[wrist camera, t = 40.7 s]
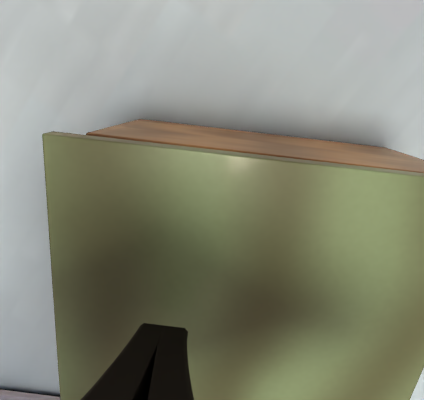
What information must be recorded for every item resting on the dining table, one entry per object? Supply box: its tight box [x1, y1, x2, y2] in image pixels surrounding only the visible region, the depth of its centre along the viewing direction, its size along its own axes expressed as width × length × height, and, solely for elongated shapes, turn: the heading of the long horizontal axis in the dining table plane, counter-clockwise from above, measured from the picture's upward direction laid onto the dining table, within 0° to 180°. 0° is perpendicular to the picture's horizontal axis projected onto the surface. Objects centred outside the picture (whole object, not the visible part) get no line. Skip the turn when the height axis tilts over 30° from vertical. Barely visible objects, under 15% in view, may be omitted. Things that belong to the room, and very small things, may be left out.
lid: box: [42, 131, 424, 400], centre depth 11 cm, size 13×12×1 cm
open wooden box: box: [86, 119, 424, 173], centre depth 14 cm, size 13×12×6 cm
